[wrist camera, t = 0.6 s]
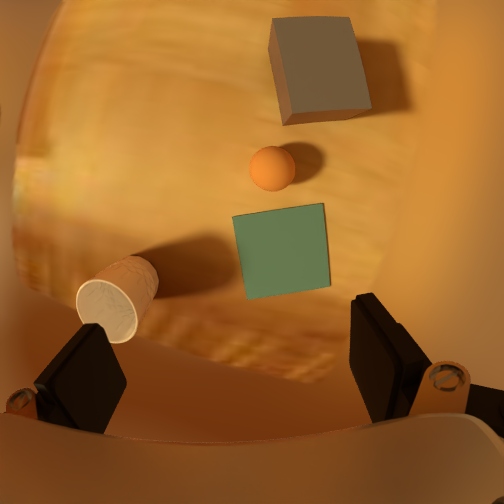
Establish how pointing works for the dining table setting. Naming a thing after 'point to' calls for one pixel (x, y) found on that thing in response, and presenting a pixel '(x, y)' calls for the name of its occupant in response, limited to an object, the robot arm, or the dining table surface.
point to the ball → (272, 168)
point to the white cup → (119, 297)
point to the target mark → (283, 250)
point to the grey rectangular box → (317, 69)
